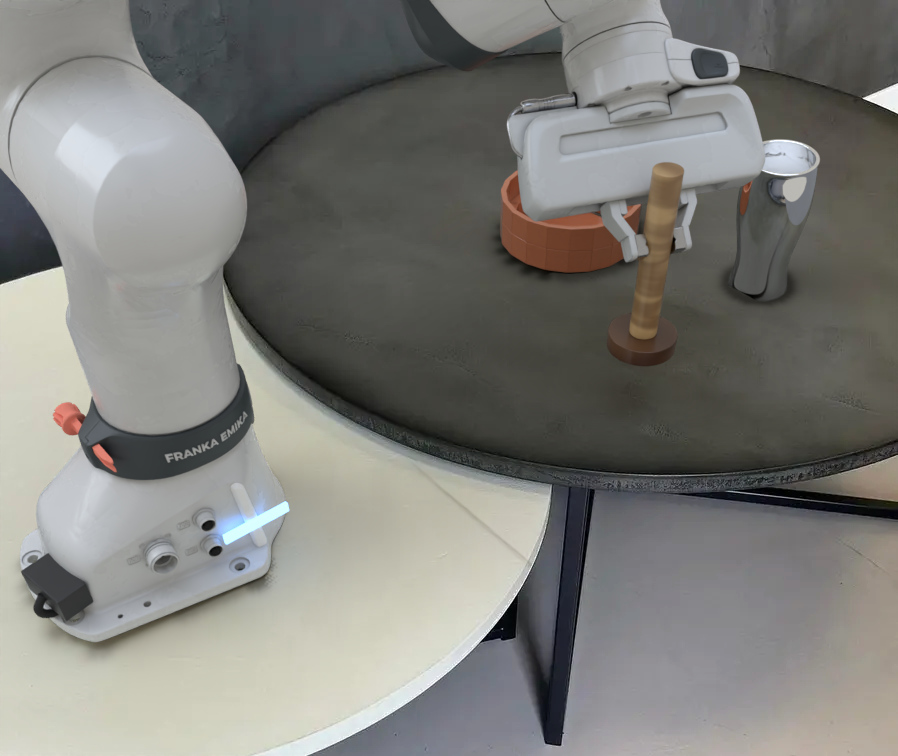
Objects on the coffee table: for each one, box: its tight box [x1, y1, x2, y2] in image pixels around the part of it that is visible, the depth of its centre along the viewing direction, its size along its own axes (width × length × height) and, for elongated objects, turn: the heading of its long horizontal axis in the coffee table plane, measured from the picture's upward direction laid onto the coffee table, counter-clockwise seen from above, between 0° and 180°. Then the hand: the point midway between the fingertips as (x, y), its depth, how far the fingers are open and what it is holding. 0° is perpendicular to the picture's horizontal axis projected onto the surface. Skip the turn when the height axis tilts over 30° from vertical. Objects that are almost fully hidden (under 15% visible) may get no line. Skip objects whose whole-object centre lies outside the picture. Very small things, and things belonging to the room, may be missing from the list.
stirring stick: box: [606, 162, 684, 367], centre depth 81 cm, size 6×6×16 cm
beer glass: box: [727, 138, 821, 302], centre depth 98 cm, size 7×7×15 cm
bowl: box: [499, 169, 643, 273], centre depth 109 cm, size 15×15×6 cm
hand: (659, 255), depth 80 cm, fingers closed on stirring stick, 2 cm apart
